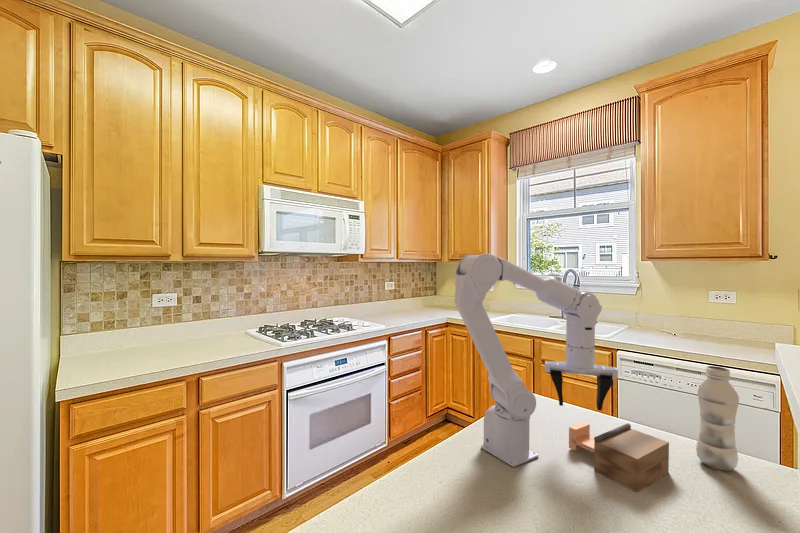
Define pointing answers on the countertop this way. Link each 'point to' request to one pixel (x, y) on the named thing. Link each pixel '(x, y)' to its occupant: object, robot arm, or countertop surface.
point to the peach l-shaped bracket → (581, 437)
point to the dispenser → (630, 457)
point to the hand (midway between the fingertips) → (579, 406)
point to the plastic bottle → (717, 420)
